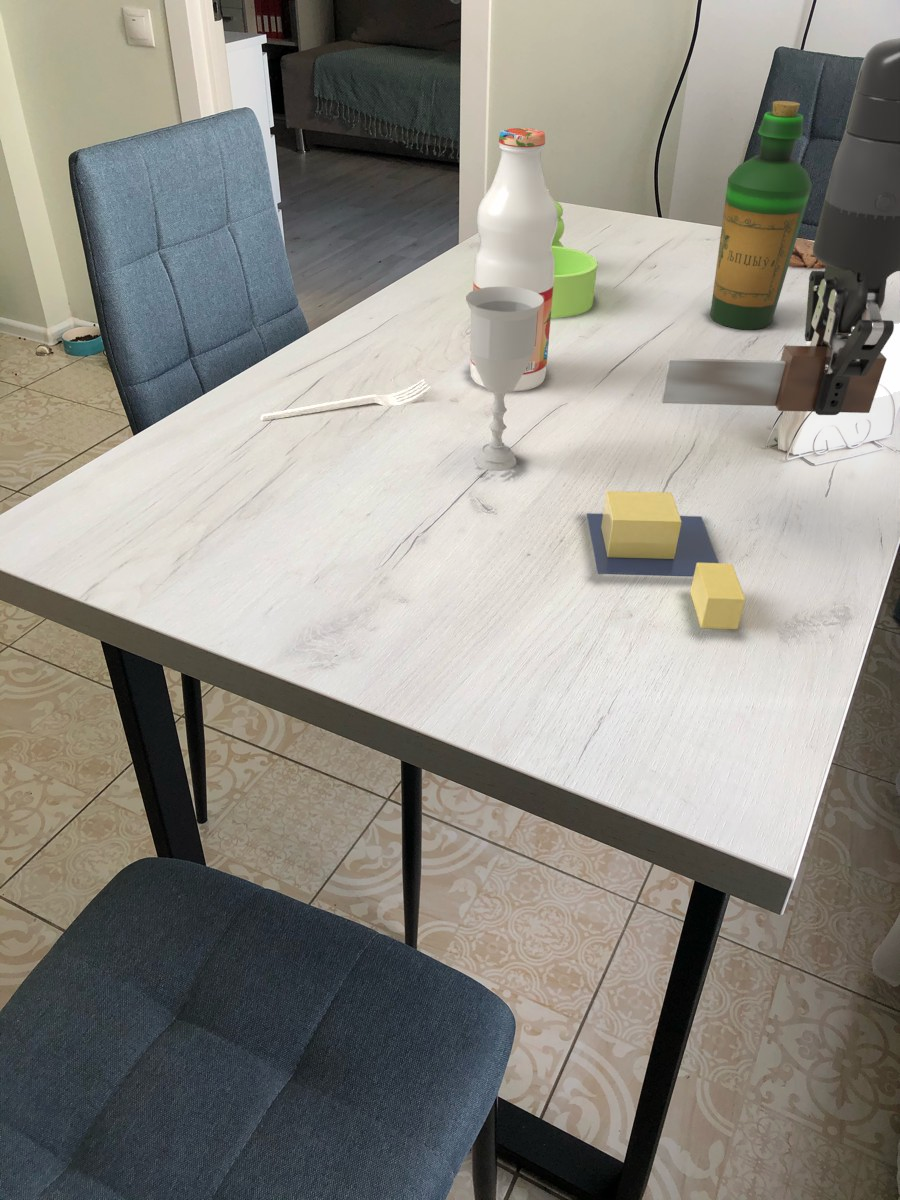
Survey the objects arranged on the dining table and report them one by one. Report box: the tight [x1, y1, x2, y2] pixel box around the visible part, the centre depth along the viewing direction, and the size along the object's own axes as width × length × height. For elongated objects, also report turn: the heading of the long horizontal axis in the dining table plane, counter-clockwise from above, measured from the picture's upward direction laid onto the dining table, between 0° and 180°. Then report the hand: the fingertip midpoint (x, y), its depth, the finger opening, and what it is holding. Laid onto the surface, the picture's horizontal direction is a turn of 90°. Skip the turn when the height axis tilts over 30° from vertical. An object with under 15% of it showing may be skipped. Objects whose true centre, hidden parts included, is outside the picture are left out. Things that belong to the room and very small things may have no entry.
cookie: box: [788, 237, 826, 270], centre depth 156 cm, size 10×11×3 cm
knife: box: [660, 345, 887, 414], centre depth 81 cm, size 18×2×5 cm, turn 90°
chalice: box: [465, 287, 544, 472], centre depth 93 cm, size 7×7×18 cm
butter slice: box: [689, 562, 746, 630], centre depth 77 cm, size 3×5×4 cm, turn 178°
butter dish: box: [586, 490, 719, 578], centre depth 85 cm, size 11×10×5 cm
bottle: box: [709, 100, 813, 331], centre depth 126 cm, size 11×11×28 cm
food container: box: [547, 188, 598, 319], centre depth 139 cm, size 25×15×13 cm, turn 1°
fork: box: [260, 379, 431, 422], centre depth 108 cm, size 3×20×2 cm, turn 112°
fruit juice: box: [469, 127, 558, 392], centre depth 108 cm, size 9×9×28 cm
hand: (820, 404), depth 83 cm, fingers closed on knife, 2 cm apart
